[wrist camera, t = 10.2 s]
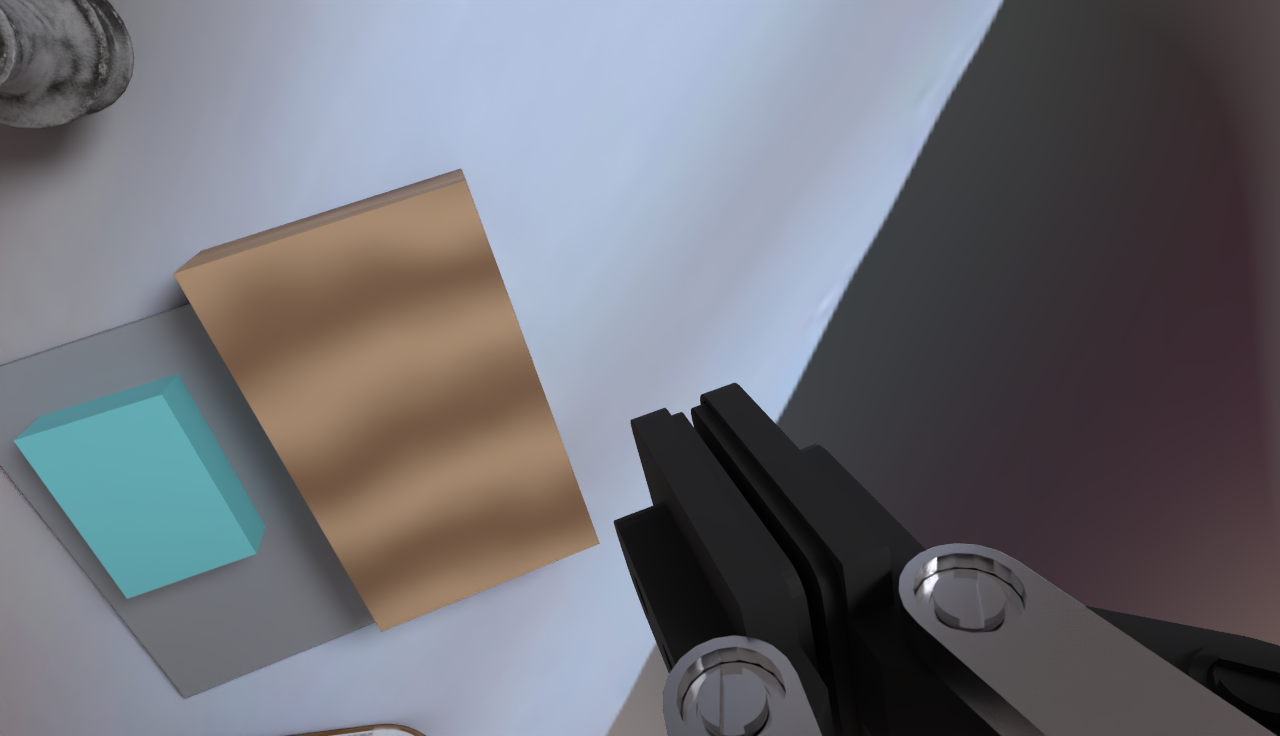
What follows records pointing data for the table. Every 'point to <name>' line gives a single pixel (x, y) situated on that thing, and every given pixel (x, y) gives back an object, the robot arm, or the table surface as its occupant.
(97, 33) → the grey chess piece
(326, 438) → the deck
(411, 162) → the table surface
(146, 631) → the mat
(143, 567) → the turquoise foam pad
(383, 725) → the tin
